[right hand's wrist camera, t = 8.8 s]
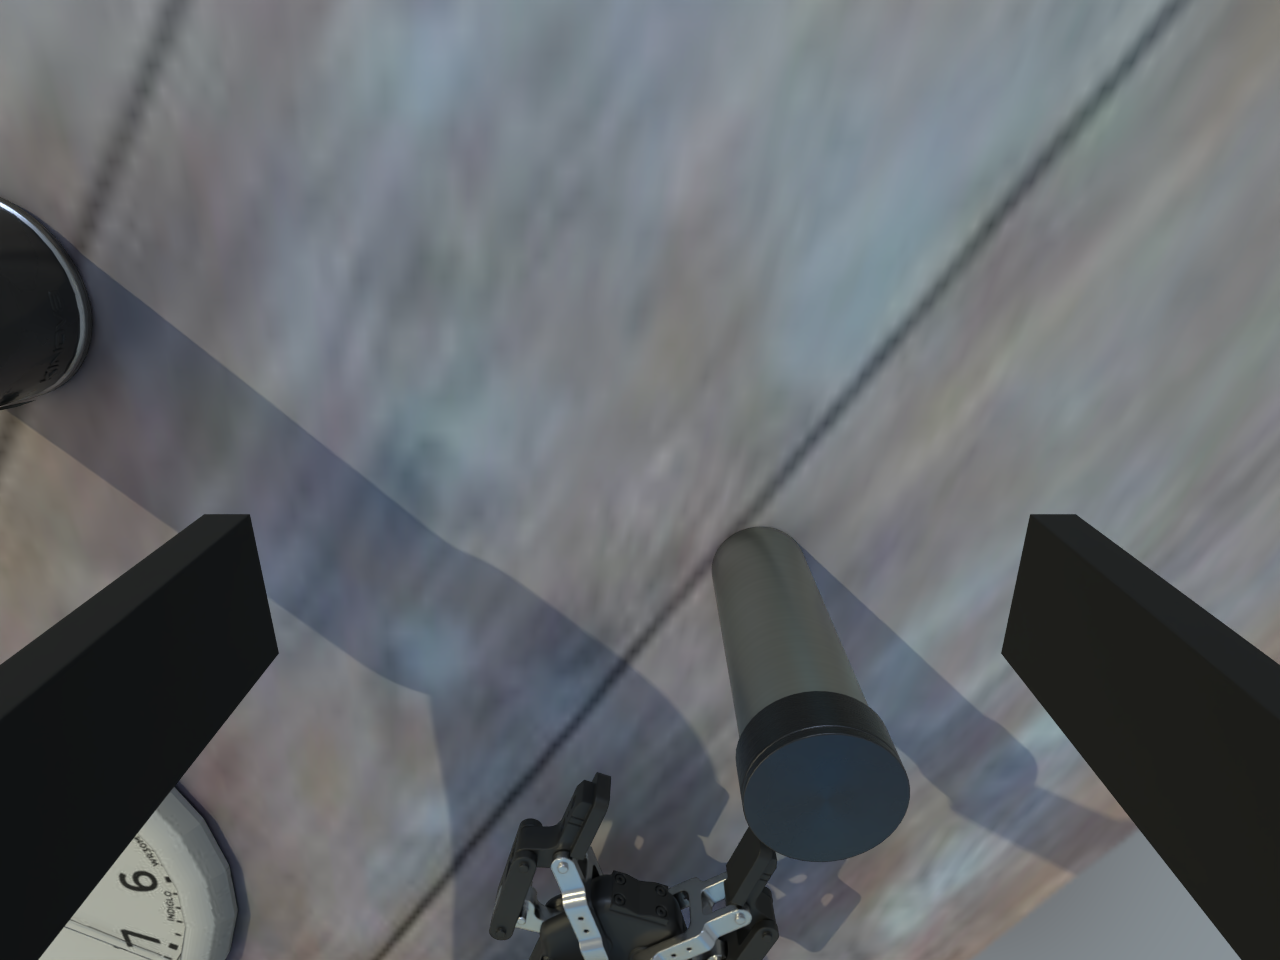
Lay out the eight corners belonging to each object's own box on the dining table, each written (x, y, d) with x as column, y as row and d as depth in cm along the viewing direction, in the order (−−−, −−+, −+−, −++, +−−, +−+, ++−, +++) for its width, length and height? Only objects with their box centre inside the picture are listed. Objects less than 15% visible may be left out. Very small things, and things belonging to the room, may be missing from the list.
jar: (701, 599, 39) (733, 832, 25) (724, 518, 38) (772, 719, 23) (789, 616, 40) (870, 855, 25) (816, 536, 38) (918, 745, 24)
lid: (718, 798, 27) (724, 848, 25) (758, 677, 25) (768, 720, 23) (861, 823, 27) (878, 874, 25) (911, 705, 25) (934, 750, 23)
